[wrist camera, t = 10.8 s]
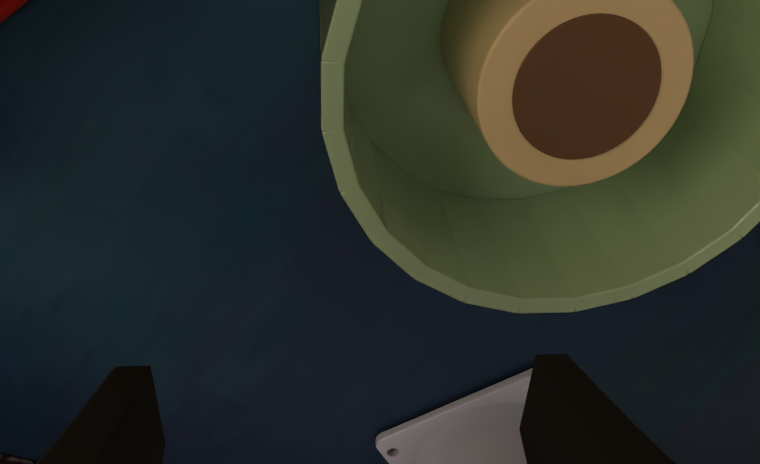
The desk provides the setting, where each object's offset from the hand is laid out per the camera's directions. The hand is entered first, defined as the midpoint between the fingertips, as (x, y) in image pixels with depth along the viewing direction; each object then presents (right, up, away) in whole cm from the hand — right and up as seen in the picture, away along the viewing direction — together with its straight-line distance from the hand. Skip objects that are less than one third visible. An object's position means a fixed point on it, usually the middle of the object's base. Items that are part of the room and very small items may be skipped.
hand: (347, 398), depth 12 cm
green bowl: (+5, +9, +7) cm, 13 cm away
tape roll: (+5, +9, +7) cm, 12 cm away
